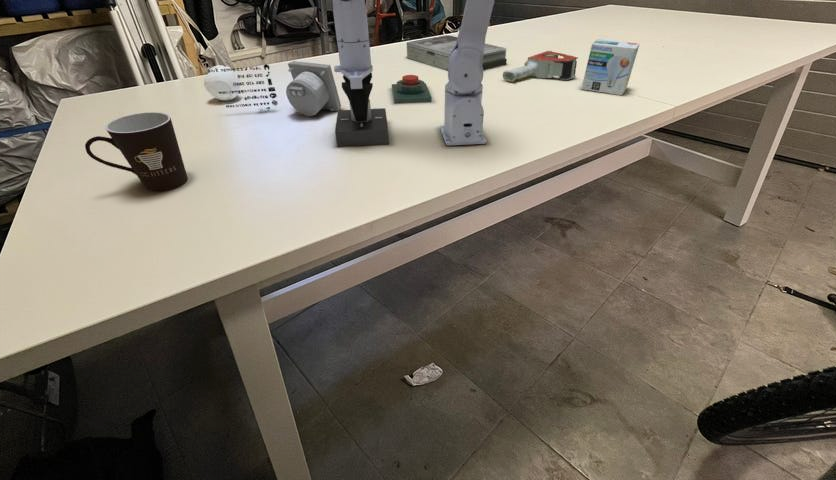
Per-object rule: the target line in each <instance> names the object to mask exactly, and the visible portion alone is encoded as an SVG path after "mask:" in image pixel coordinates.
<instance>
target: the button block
mask: <svg viewBox="0 0 836 480" xmlns="http://www.w3.org/2000/svg"><path fill="white" fill-rule="evenodd" d="M391 92H392V98H393V102H394V103H393V104H395V105H396V104H399V105H401V104H422V103H424V104H425V103H432V102H433V101H432V100H433V99H432V95H431V92H430V89H429V88H428V85H427V83H426V82H425V81H424V80H421V79H419V84H418V85H413V86H408V85H403V83H402V79H400V80H397V81H396V83H391Z"/></svg>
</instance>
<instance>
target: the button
mask: <svg viewBox="0 0 836 480" xmlns="http://www.w3.org/2000/svg"><path fill="white" fill-rule="evenodd" d="M401 80H402V83H403V85H408V86H413V85H418V84H419V80H420V78H419V76H418V75H416V74H406V75H403V76H402V77H401Z"/></svg>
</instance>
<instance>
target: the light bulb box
mask: <svg viewBox="0 0 836 480" xmlns="http://www.w3.org/2000/svg"><path fill="white" fill-rule="evenodd" d="M639 47H640V42H628V41H619V40H609V39H608V40H607V39H598V38H597V39H596V40H595V41H594V42H592V44H591V45H590V50H589V54H588V58H587V64H586V68H585V72H584V76H583V80H582V85H581V87H580V89H581V90H585V91H592V92H597V93H605V94H612V95H618V96H623V95H624V93H625V92H626V90H627V88H628V85H629V81H630V78H631V74H632V71H633V67H634V65H635V61H636V58H637V54H638V52H639Z"/></svg>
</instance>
